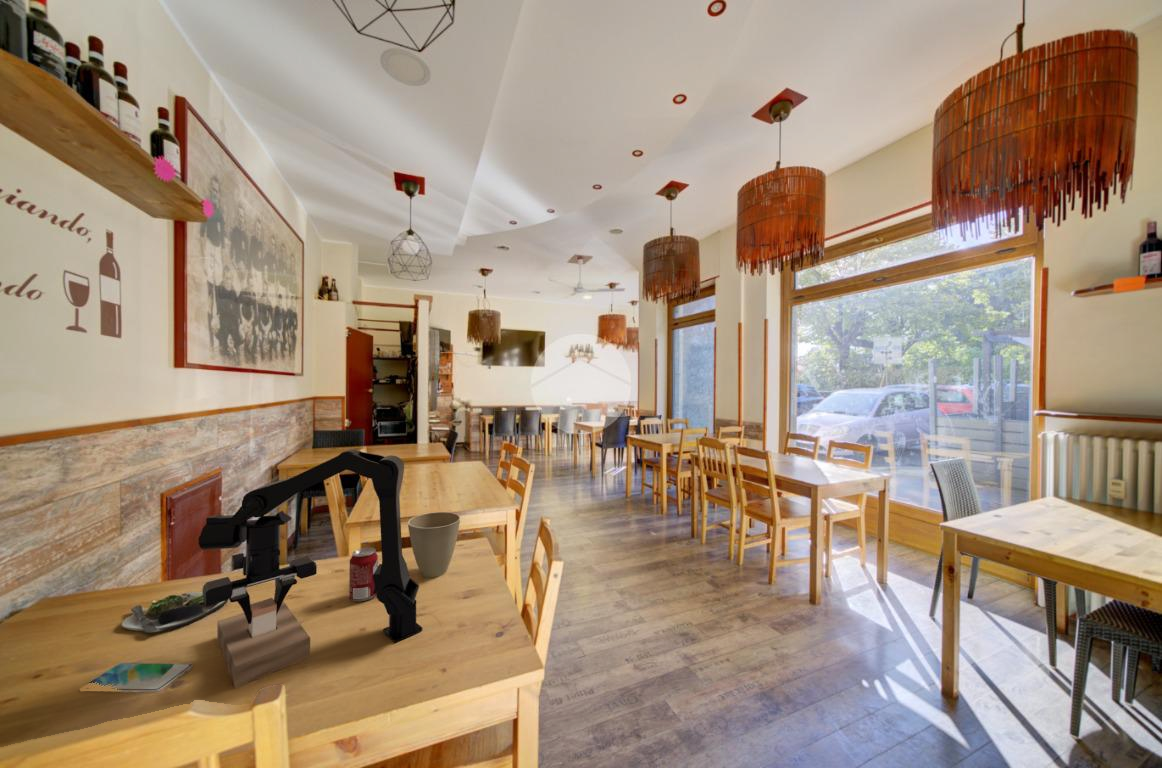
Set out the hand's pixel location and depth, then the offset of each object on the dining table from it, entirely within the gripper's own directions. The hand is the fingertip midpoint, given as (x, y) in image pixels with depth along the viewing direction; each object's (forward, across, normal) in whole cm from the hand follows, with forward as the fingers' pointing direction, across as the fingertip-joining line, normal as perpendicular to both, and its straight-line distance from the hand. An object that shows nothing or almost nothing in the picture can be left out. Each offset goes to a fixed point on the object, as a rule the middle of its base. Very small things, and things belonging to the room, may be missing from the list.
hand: (262, 618), depth 89 cm
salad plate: (+7, +11, -31) cm, 34 cm away
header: (+6, 0, 0) cm, 6 cm away
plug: (+5, 0, 0) cm, 5 cm away
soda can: (+6, -23, -7) cm, 25 cm away
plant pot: (+6, -43, -7) cm, 44 cm away
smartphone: (+7, +18, -6) cm, 20 cm away
